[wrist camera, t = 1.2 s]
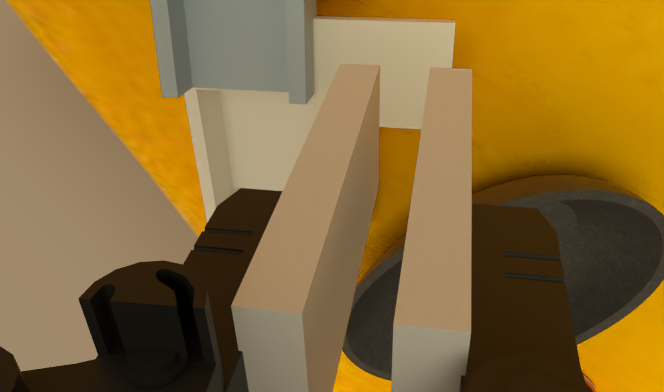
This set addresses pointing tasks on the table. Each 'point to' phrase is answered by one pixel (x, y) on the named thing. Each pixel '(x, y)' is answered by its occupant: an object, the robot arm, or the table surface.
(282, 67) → the ramp
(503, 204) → the bowl
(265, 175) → the dish
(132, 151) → the table surface
